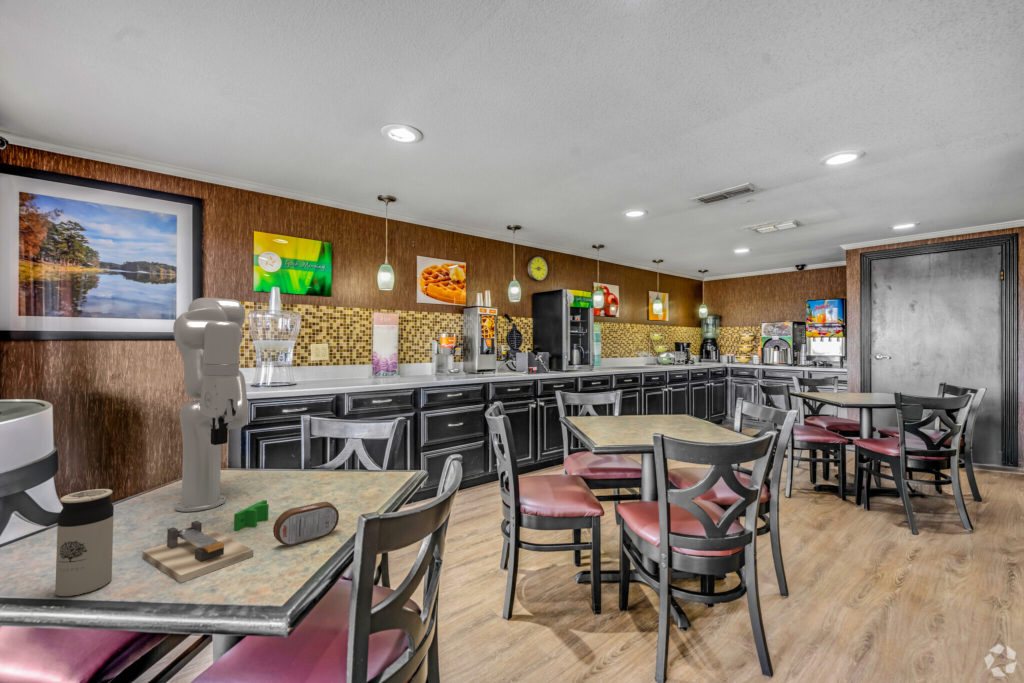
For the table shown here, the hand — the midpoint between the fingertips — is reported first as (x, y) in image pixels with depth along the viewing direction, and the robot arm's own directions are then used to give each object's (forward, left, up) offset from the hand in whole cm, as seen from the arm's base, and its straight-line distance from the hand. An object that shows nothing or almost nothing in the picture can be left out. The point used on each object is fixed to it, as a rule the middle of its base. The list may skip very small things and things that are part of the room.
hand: (219, 443), depth 112 cm
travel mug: (+5, -26, -23) cm, 35 cm away
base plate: (+9, -8, -23) cm, 26 cm away
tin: (+21, +11, -24) cm, 33 cm away
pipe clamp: (-1, +10, -24) cm, 26 cm away
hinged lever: (+9, -8, -20) cm, 23 cm away
